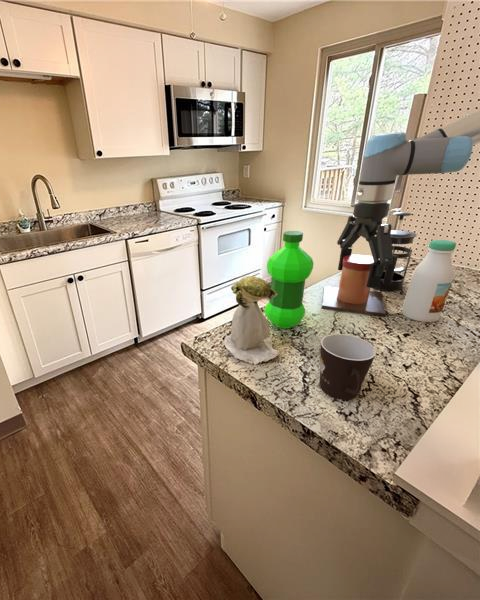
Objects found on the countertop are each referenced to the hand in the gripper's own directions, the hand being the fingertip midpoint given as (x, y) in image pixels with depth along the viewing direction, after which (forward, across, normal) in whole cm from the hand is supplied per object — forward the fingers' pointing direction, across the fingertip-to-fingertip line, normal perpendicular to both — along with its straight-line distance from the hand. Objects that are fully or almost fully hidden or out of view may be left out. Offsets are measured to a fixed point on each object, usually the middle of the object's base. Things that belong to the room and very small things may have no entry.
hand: (356, 277), depth 89 cm
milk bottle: (+8, +11, +11) cm, 17 cm away
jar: (+7, 0, 0) cm, 7 cm away
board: (+8, 0, 0) cm, 8 cm away
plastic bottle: (+8, +9, -24) cm, 27 cm away
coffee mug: (+8, +37, -24) cm, 45 cm away
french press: (+8, -8, +15) cm, 19 cm away
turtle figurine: (+8, +20, -36) cm, 42 cm away
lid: (-5, 0, 0) cm, 5 cm away
